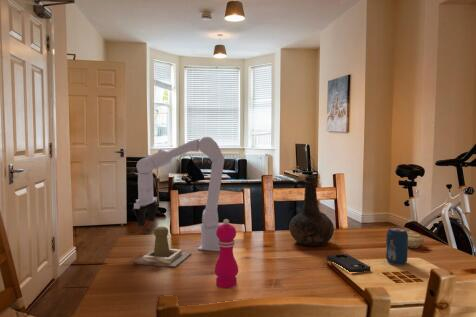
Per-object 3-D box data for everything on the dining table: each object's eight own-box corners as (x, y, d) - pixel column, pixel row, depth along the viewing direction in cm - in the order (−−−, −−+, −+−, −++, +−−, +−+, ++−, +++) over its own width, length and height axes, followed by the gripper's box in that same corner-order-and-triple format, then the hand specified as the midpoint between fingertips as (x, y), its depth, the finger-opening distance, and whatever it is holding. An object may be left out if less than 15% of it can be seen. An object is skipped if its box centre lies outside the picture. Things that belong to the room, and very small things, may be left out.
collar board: (191, 254, 141) (191, 249, 140) (174, 267, 127) (174, 261, 127) (153, 251, 145) (152, 245, 145) (133, 263, 132) (133, 257, 131)
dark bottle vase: (342, 244, 153) (343, 176, 150) (311, 252, 142) (312, 180, 140) (310, 234, 167) (311, 172, 165) (280, 241, 157) (280, 175, 155)
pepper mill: (214, 279, 117) (213, 216, 115) (237, 278, 118) (237, 216, 116) (214, 289, 110) (214, 222, 108) (239, 288, 110) (239, 221, 109)
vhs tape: (370, 272, 124) (371, 267, 124) (350, 275, 121) (350, 269, 121) (346, 258, 137) (346, 253, 137) (327, 261, 135) (327, 255, 135)
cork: (166, 260, 133) (166, 229, 132) (150, 259, 134) (149, 229, 133) (172, 254, 139) (171, 225, 138) (156, 253, 140) (156, 224, 139)
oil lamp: (409, 239, 161) (410, 227, 160) (433, 249, 147) (434, 236, 146) (387, 240, 159) (388, 228, 158) (409, 251, 145) (410, 238, 144)
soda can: (406, 260, 134) (407, 227, 133) (408, 267, 127) (409, 232, 127) (385, 258, 136) (386, 225, 135) (386, 264, 130) (387, 230, 129)
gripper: (145, 185, 153) (146, 218, 154) (126, 191, 140) (127, 227, 141) (161, 186, 152) (162, 219, 153) (143, 192, 138) (144, 228, 139)
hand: (146, 223), depth 146 cm, fingers open, 7 cm apart
